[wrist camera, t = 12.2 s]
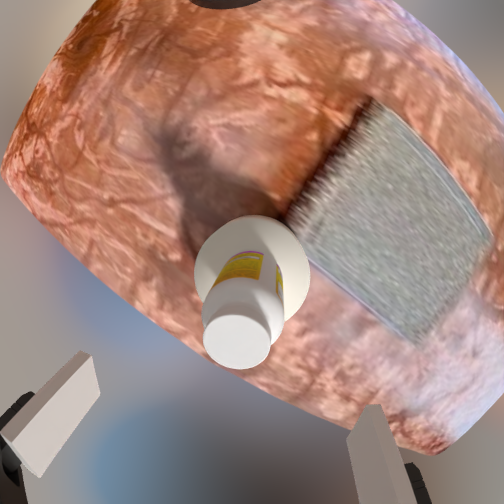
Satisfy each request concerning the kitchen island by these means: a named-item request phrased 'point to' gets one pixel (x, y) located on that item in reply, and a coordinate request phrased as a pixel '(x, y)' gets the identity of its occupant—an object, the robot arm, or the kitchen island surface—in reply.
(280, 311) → the supplement bottle
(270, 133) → the kitchen island surface
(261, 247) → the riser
